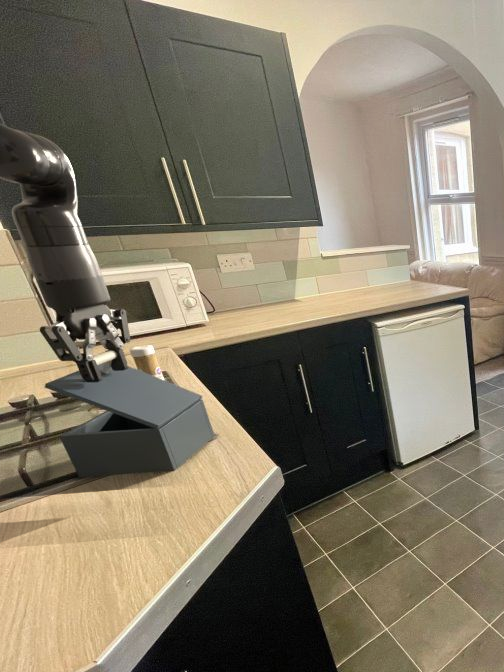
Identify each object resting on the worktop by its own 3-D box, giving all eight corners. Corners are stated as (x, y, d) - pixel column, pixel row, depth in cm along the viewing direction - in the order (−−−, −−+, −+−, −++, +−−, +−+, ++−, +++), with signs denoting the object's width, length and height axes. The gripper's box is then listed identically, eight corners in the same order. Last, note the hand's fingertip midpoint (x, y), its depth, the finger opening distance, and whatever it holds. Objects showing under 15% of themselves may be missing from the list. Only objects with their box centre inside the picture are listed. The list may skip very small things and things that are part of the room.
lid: (44, 387, 66) (50, 360, 65) (108, 361, 78) (114, 338, 76) (157, 429, 70) (165, 404, 69) (201, 399, 82) (209, 377, 80)
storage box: (83, 485, 73) (58, 436, 69) (136, 448, 84) (117, 404, 81) (177, 478, 74) (158, 429, 70) (217, 443, 86) (202, 399, 82)
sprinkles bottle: (167, 397, 109) (149, 348, 104) (145, 401, 107) (126, 351, 102) (172, 391, 113) (154, 343, 108) (151, 394, 111) (132, 346, 106)
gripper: (82, 270, 72) (116, 363, 79) (-5, 282, 59) (45, 392, 65) (129, 269, 73) (159, 361, 79) (53, 281, 60) (97, 390, 66)
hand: (107, 375), depth 72 cm, fingers closed on lid, 5 cm apart
